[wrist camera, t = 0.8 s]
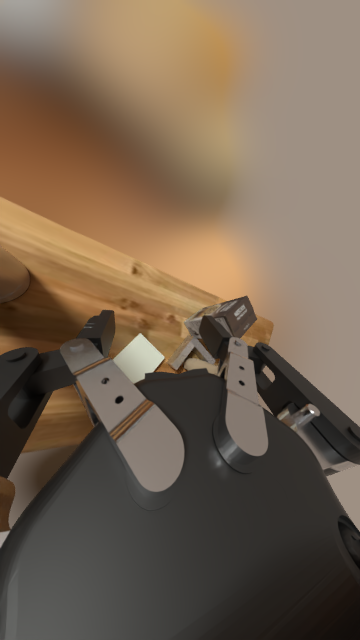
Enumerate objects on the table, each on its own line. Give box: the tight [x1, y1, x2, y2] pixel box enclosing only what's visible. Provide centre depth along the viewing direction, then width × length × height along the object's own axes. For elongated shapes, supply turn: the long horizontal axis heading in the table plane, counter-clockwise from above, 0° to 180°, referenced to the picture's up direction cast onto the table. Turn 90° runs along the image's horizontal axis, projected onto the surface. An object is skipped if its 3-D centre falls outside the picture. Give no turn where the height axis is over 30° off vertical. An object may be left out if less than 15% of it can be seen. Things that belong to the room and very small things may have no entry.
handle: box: [183, 358, 218, 375], centre depth 31 cm, size 5×6×15 cm
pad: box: [113, 333, 165, 383], centre depth 31 cm, size 9×9×1 cm
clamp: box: [166, 336, 215, 370], centre depth 37 cm, size 11×10×4 cm
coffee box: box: [184, 296, 257, 339], centre depth 34 cm, size 9×6×16 cm
